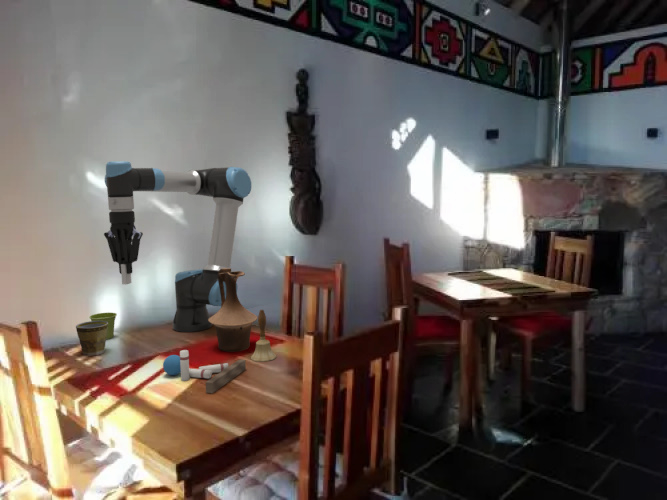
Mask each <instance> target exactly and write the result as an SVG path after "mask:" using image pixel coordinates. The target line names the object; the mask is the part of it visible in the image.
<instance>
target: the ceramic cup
mask: <svg viewBox="0 0 667 500" xmlns="http://www.w3.org/2000/svg"><path fill="white" fill-rule="evenodd" d="M75 329H76V332H77V337H78V340H79V343H80V347H81V351H82V354H83V356H88V357H90V356H91V357H92V356H98V355H102V354H104V353H105V349H106V342H107V341H106V340H107V339H106V335H107V329H108V322H106V321H90V320H89V321H84V322H81V323H78V324H76V325H75Z"/></svg>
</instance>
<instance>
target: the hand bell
mask: <svg viewBox="0 0 667 500" xmlns="http://www.w3.org/2000/svg"><path fill="white" fill-rule="evenodd" d="M257 317H258V319H257V320H258V321H257V324H258V327H259V340H257V341H256V342H255V350H254V352H253V354H252V355H251V356H250V359H251V361H254V362H258V363H259V362H262V363H263V362H269V361H273V360H275V359H276V358H277V355H276V353H274V351H273V350H272V347H271V342H270V340H269V339H266V324H267V316H266V313H265V310H264V309H259V312H258V316H257Z"/></svg>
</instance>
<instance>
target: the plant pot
mask: <svg viewBox="0 0 667 500" xmlns="http://www.w3.org/2000/svg"><path fill="white" fill-rule="evenodd" d="M117 315H118V314H117V313H116V312H99V313H94V314H91V315H90V316H89V319H90V320H91V321H106V322H108V329H107V335H106V340H111V339H112V338H113V337H114V335H115V323H116V322H115V321H116V317H117Z"/></svg>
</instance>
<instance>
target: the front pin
mask: <svg viewBox="0 0 667 500" xmlns="http://www.w3.org/2000/svg"><path fill="white" fill-rule="evenodd" d="M212 374H213V373H212V371H211V370H204V369H203V370H202V369H199V368H190V367H189V376H190V378H196V379H197V378H198V379H207V380H210V379H211V378H212V377H213V376H212Z"/></svg>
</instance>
